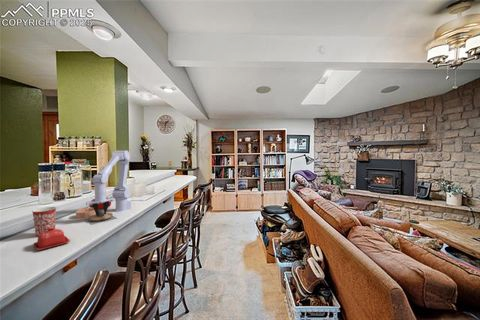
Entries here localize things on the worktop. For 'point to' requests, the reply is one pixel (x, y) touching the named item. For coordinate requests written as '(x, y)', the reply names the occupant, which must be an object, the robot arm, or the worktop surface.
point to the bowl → (85, 213)
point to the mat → (100, 221)
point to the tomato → (100, 206)
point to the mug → (44, 219)
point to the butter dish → (51, 239)
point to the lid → (100, 216)
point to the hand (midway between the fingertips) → (101, 214)
